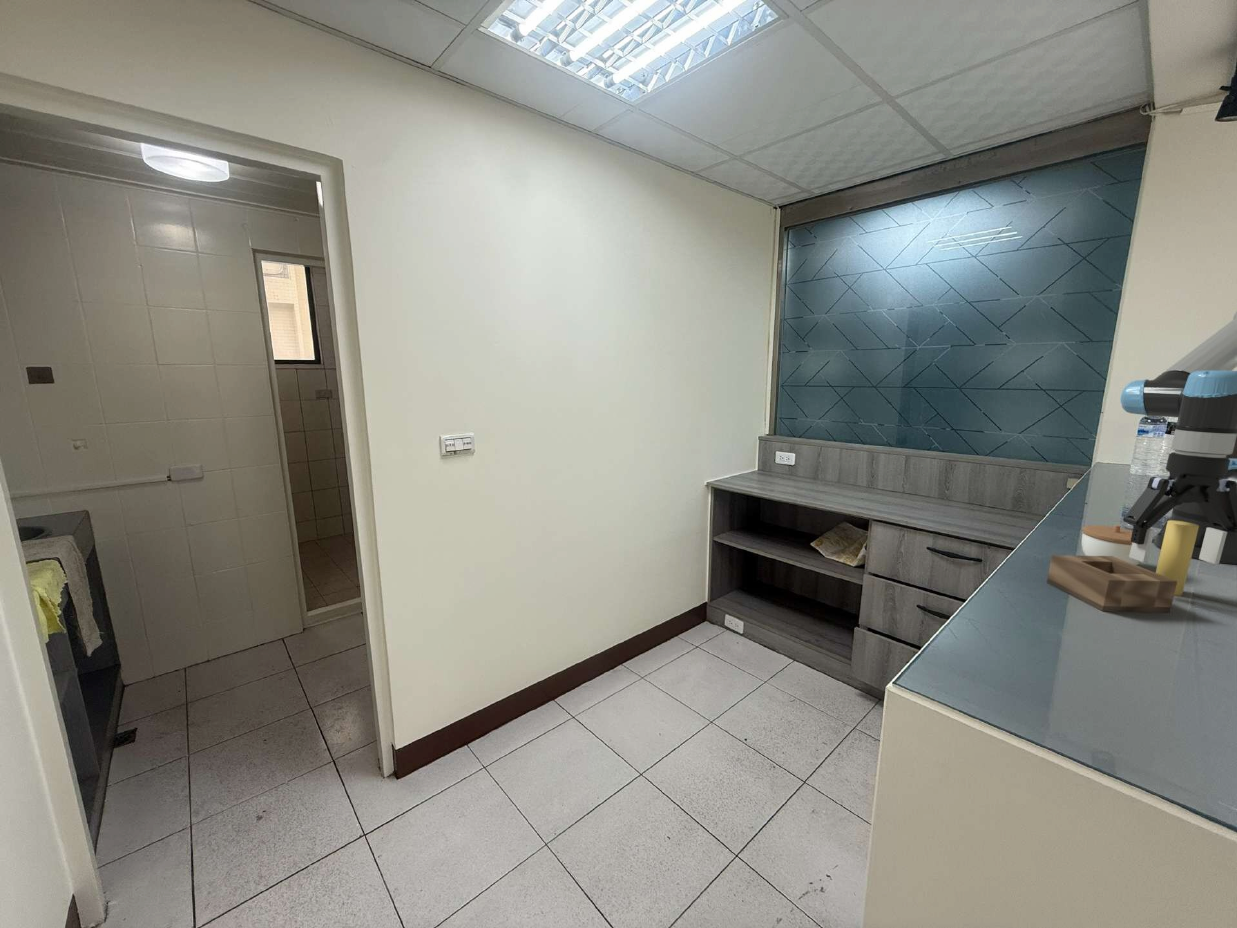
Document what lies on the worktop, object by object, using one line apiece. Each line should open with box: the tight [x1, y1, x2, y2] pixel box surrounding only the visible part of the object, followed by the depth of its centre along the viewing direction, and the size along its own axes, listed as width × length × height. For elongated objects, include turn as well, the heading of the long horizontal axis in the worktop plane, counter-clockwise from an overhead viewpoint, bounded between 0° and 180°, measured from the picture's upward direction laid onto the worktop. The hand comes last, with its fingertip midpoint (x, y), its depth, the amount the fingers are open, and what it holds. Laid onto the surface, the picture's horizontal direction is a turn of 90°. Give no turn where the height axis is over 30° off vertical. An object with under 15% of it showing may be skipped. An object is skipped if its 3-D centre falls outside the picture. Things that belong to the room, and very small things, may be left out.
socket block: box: [1046, 554, 1177, 613], centre depth 94 cm, size 12×12×6 cm
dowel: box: [1155, 520, 1199, 597], centre depth 96 cm, size 4×4×14 cm
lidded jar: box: [1081, 524, 1142, 566], centre depth 109 cm, size 11×11×9 cm
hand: (1173, 560), depth 96 cm, fingers open, 13 cm apart
